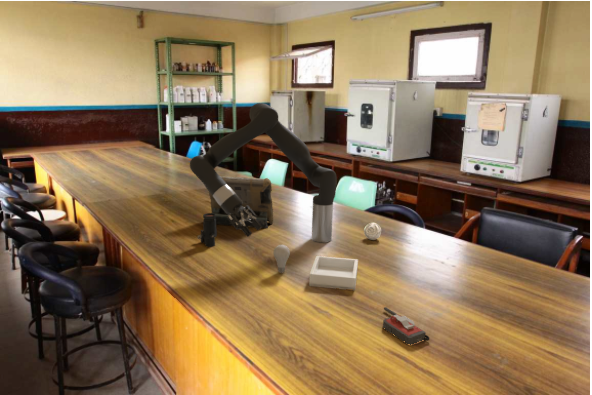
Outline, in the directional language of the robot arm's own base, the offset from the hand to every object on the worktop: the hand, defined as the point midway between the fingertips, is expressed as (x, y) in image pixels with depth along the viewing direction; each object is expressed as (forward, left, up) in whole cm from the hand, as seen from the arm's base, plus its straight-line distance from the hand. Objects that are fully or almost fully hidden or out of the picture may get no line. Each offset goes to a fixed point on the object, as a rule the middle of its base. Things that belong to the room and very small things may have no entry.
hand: (255, 232), depth 170 cm
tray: (+2, +31, -15) cm, 34 cm away
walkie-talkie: (+34, +53, -15) cm, 64 cm away
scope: (-21, -26, -15) cm, 37 cm away
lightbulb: (+2, +11, -15) cm, 18 cm away
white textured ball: (-46, +44, -15) cm, 65 cm away
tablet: (-55, -22, -15) cm, 61 cm away
